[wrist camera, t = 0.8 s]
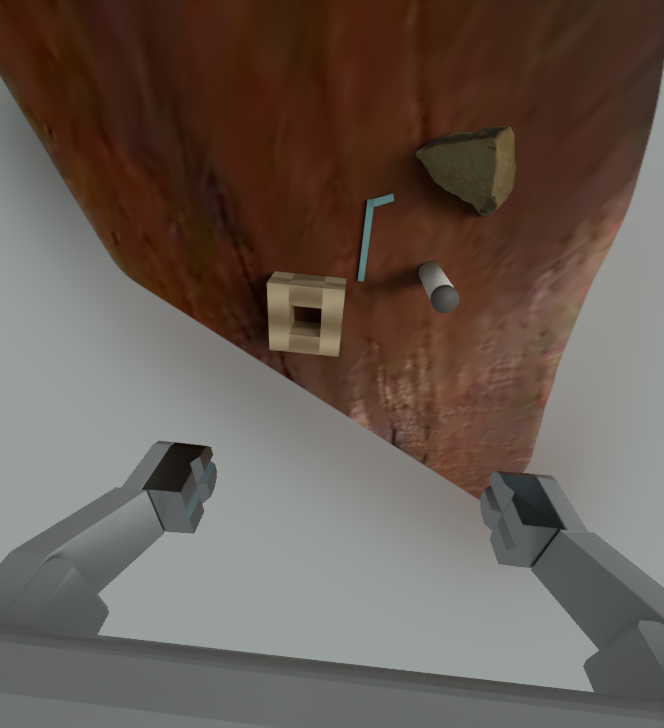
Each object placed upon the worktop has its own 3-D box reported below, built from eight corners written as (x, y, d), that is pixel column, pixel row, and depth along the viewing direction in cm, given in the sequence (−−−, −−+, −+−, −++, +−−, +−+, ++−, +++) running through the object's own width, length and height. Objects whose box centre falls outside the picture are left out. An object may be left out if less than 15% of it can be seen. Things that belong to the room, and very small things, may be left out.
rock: (535, 205, 36) (536, 98, 30) (509, 245, 32) (505, 131, 26) (443, 216, 43) (428, 131, 37) (413, 250, 40) (392, 162, 34)
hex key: (368, 191, 39) (368, 191, 38) (394, 193, 39) (395, 193, 38) (357, 279, 45) (357, 280, 44) (380, 281, 45) (380, 283, 44)
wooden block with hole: (274, 271, 45) (266, 282, 41) (346, 278, 45) (345, 290, 41) (276, 334, 50) (269, 349, 47) (339, 341, 50) (338, 356, 47)
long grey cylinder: (421, 260, 43) (436, 287, 34) (442, 262, 43) (462, 289, 34) (416, 281, 44) (429, 311, 36) (437, 282, 44) (454, 314, 36)
